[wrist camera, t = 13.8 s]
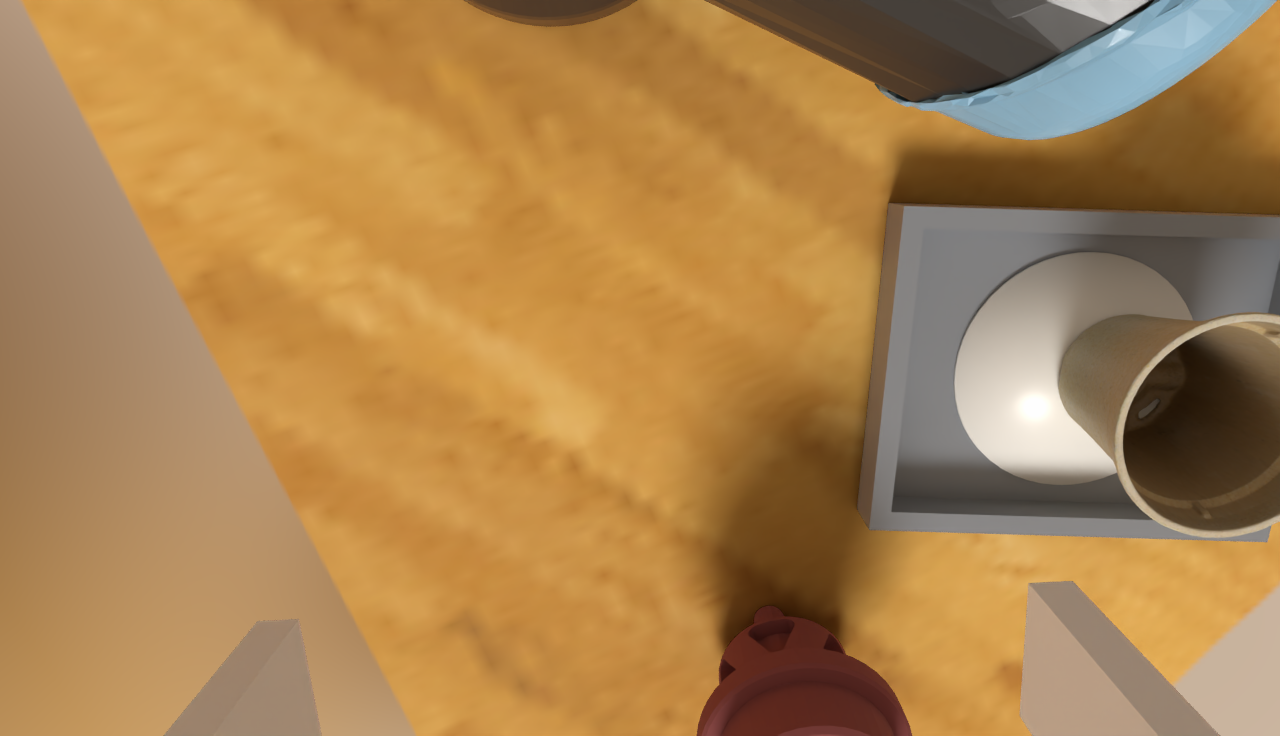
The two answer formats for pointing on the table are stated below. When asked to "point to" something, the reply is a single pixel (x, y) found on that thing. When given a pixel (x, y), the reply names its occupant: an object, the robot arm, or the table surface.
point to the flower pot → (1185, 415)
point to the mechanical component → (797, 686)
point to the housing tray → (1029, 356)
